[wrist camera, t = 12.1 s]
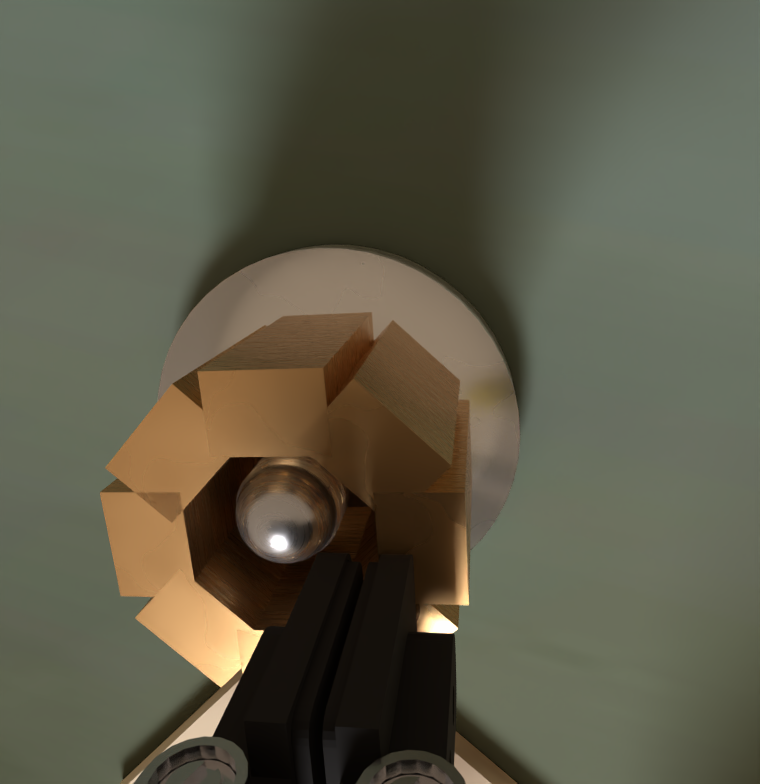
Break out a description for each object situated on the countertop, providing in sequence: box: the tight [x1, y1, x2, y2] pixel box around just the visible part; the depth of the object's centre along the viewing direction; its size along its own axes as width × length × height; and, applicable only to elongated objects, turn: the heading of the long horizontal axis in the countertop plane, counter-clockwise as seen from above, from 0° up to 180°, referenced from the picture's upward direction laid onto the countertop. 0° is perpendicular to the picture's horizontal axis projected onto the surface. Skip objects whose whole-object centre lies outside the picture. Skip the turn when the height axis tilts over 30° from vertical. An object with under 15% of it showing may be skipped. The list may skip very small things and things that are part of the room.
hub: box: [158, 244, 520, 563], centre depth 14 cm, size 9×9×6 cm
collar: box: [100, 312, 472, 687], centre depth 14 cm, size 6×6×5 cm
